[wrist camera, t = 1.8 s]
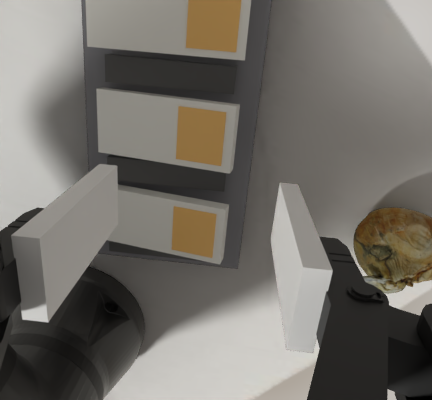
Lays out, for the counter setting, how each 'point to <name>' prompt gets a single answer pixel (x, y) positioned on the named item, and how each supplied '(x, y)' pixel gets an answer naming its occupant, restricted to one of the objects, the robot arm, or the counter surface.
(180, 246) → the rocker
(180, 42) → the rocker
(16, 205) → the counter surface
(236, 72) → the rocker switch panel
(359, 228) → the onion
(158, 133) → the block
